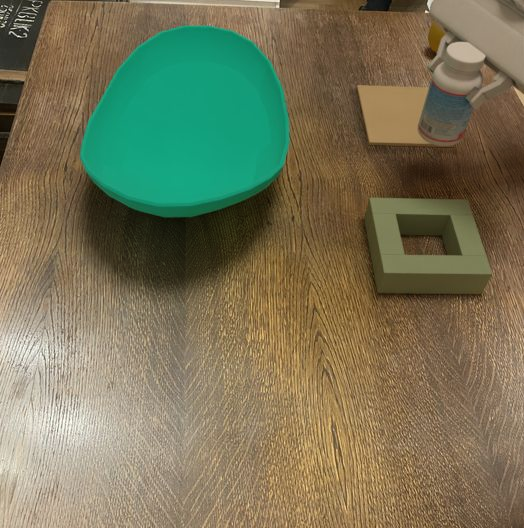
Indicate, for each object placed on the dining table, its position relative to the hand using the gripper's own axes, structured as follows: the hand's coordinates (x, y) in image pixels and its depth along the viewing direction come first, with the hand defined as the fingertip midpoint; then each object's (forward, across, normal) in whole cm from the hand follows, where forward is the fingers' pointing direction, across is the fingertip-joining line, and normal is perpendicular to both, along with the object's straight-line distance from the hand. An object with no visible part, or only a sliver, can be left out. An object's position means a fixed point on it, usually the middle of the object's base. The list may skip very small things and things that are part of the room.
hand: (450, 88), depth 75 cm
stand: (+17, -9, -9) cm, 21 cm away
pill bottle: (+4, 0, -5) cm, 7 cm away
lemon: (-8, +32, -34) cm, 47 cm away
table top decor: (+33, +18, +7) cm, 38 cm away
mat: (+5, +18, -21) cm, 28 cm away
